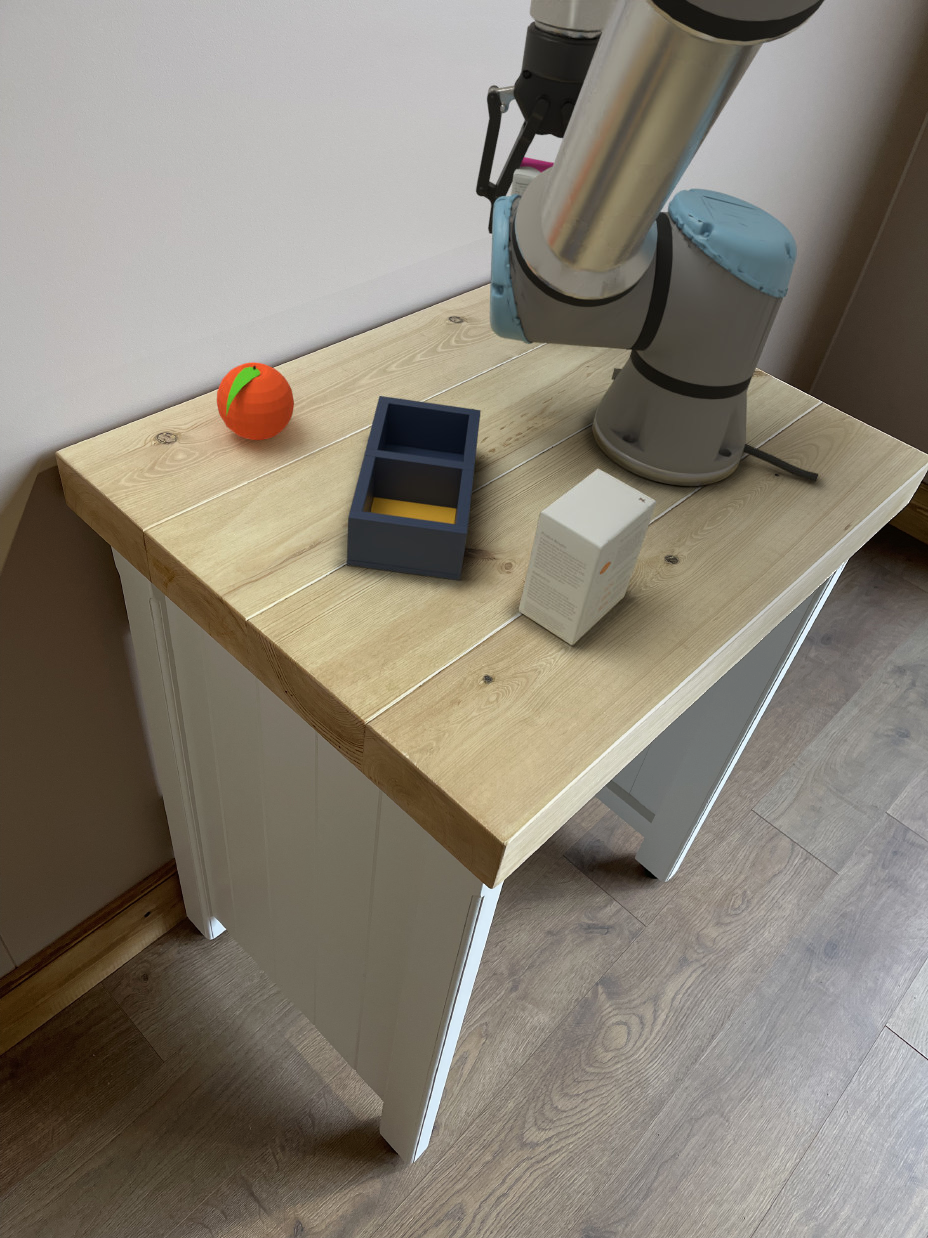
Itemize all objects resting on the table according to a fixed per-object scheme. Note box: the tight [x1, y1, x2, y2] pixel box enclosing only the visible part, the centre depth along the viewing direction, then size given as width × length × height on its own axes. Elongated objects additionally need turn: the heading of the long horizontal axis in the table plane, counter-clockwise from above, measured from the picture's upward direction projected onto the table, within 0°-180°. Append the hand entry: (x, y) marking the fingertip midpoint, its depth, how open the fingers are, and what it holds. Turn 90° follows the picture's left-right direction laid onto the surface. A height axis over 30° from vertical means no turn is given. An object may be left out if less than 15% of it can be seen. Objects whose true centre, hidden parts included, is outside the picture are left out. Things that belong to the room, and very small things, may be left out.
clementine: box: [216, 362, 295, 441], centre depth 84 cm, size 8×7×7 cm
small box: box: [518, 468, 658, 646], centre depth 72 cm, size 8×6×10 cm
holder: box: [346, 395, 481, 581], centre depth 80 cm, size 18×9×5 cm, turn 176°
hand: (527, 266), depth 102 cm, fingers closed on supplement box, 6 cm apart
